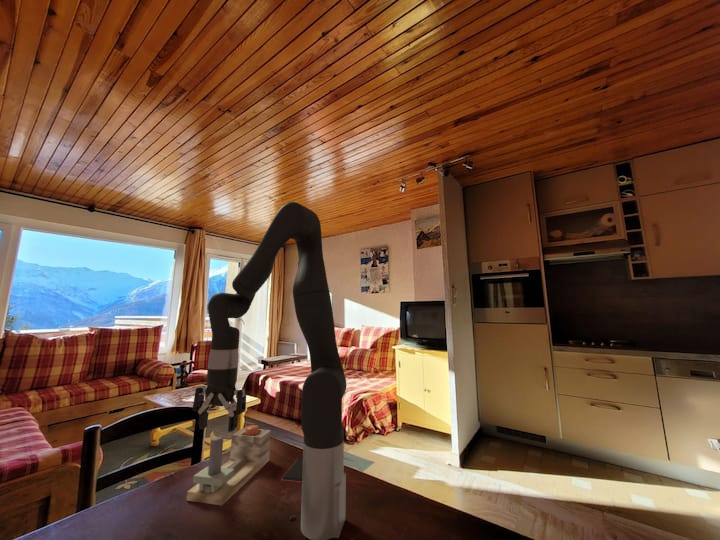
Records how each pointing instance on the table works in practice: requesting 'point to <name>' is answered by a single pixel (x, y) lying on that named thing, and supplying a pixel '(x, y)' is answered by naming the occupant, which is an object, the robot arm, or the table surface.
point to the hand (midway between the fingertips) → (217, 429)
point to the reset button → (251, 430)
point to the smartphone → (294, 472)
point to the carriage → (214, 468)
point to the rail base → (225, 487)
